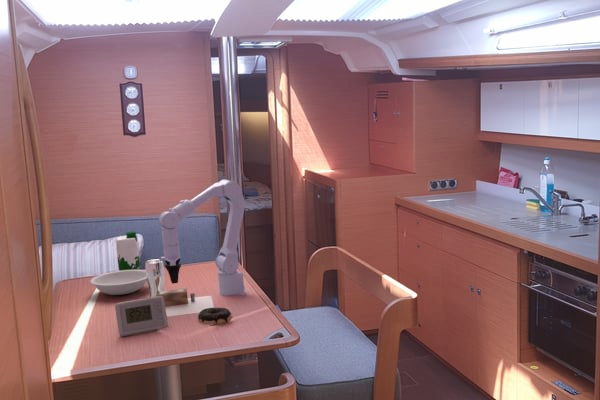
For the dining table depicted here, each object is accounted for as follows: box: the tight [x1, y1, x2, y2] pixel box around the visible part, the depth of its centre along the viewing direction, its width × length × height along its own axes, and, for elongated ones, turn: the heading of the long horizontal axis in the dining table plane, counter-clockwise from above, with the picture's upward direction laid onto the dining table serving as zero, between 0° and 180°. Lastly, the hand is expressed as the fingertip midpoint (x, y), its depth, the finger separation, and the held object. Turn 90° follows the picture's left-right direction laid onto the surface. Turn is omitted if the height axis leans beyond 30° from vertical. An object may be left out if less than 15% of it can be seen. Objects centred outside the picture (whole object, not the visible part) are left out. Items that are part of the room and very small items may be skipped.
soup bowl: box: [89, 269, 147, 296], centre depth 276 cm, size 24×24×7 cm
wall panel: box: [165, 292, 215, 318], centre depth 248 cm, size 22×20×4 cm
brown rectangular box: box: [156, 288, 189, 307], centre depth 252 cm, size 11×5×5 cm, turn 101°
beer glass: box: [144, 258, 165, 297], centre depth 262 cm, size 7×7×15 cm
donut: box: [197, 307, 232, 327], centre depth 232 cm, size 11×12×4 cm
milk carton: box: [115, 231, 141, 271], centre depth 298 cm, size 9×9×20 cm
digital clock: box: [114, 296, 169, 337], centre depth 226 cm, size 16×9×11 cm, turn 101°
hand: (174, 280), depth 252 cm, fingers open, 7 cm apart
